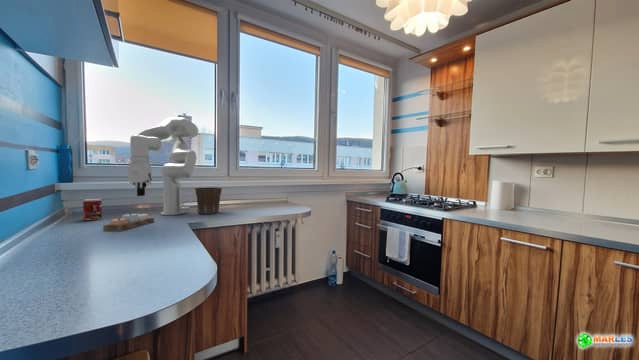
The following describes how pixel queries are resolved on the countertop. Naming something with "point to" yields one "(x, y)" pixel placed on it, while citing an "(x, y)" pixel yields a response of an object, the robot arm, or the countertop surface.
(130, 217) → the tile two pip
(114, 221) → the tile three pip
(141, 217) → the tile one pip
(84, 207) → the canned food
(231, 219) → the countertop surface
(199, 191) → the plant pot
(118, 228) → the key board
